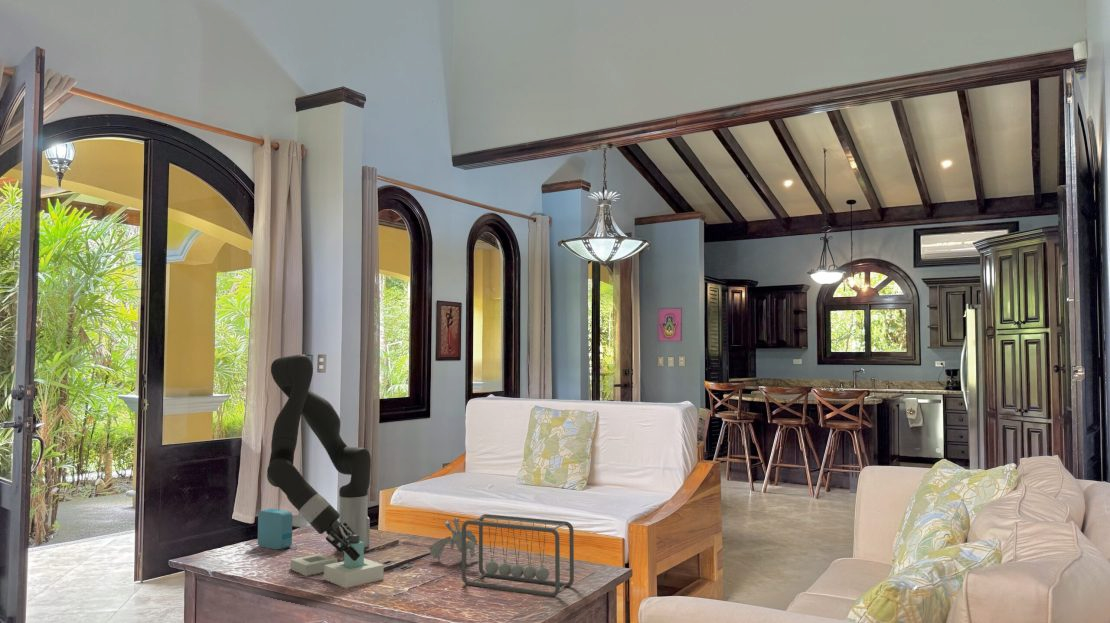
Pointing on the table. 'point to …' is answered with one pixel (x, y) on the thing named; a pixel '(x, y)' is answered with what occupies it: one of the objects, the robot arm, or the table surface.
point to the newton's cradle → (517, 568)
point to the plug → (359, 547)
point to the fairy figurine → (454, 541)
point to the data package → (275, 528)
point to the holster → (312, 563)
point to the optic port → (353, 573)
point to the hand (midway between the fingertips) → (360, 555)
